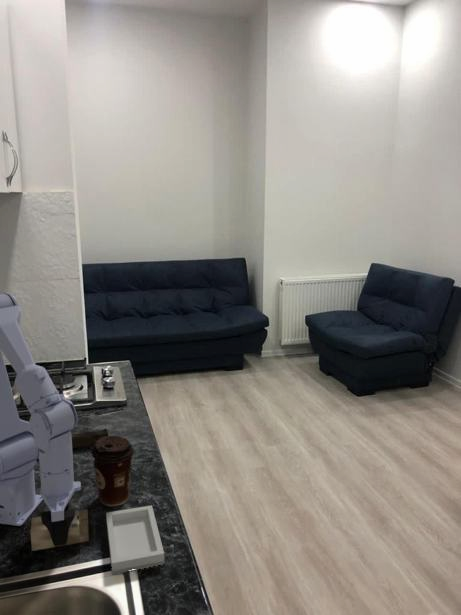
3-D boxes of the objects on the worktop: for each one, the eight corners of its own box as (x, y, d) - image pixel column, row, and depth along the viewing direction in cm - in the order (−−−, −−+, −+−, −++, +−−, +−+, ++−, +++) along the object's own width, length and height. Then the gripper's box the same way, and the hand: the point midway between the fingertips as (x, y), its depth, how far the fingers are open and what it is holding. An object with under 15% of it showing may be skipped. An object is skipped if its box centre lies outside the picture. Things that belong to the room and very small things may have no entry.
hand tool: (108, 439, 132) (107, 423, 131) (109, 447, 129) (108, 430, 127) (30, 449, 126) (29, 432, 125) (29, 457, 123) (28, 440, 122)
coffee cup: (92, 512, 103) (90, 455, 100) (92, 489, 111) (89, 435, 107) (135, 506, 105) (134, 450, 102) (132, 484, 113) (131, 431, 110)
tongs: (88, 526, 99) (87, 506, 98) (88, 541, 95) (87, 521, 94) (33, 535, 96) (31, 515, 95) (31, 551, 92) (30, 530, 91)
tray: (164, 564, 90) (164, 553, 89) (112, 575, 87) (111, 563, 86) (151, 515, 103) (151, 505, 102) (106, 523, 100) (106, 512, 99)
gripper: (80, 485, 86) (84, 553, 89) (78, 443, 99) (81, 503, 103) (36, 491, 84) (41, 560, 87) (40, 448, 97) (44, 509, 101)
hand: (60, 530), depth 95 cm, fingers open, 7 cm apart
